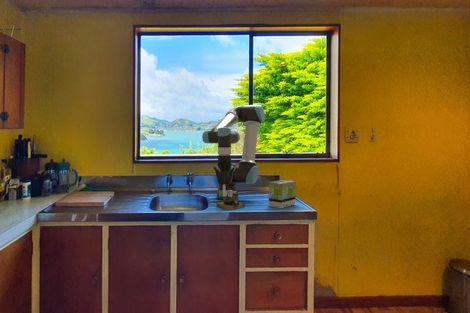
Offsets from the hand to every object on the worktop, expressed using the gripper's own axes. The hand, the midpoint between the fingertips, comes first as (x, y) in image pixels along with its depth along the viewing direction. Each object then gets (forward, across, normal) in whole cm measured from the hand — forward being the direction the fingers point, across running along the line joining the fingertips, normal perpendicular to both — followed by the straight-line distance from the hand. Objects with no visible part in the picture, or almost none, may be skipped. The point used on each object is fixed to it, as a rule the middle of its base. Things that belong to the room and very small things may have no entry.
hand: (224, 195), depth 200 cm
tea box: (+8, -29, -21) cm, 37 cm away
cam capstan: (+6, +1, -4) cm, 7 cm away
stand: (+8, 0, -8) cm, 11 cm away
